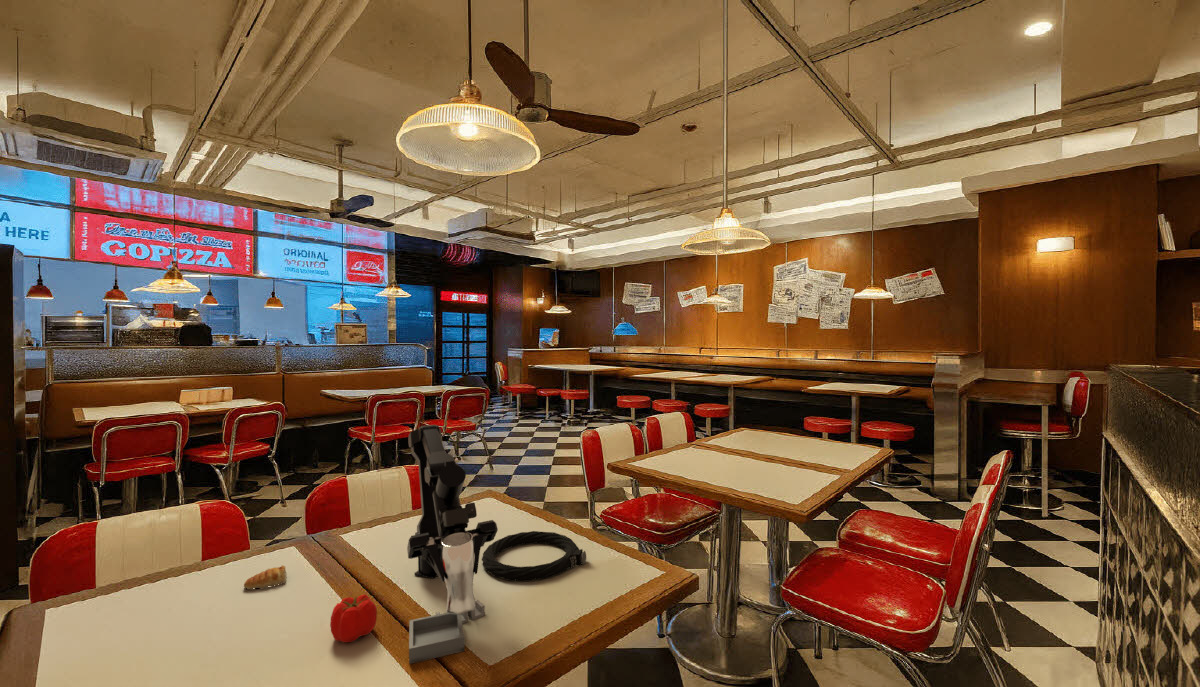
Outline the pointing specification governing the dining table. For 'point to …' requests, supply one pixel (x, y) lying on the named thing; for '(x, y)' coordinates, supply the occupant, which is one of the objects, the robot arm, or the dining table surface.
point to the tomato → (353, 618)
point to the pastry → (267, 578)
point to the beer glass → (458, 571)
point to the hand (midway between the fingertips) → (460, 577)
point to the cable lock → (532, 572)
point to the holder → (435, 637)
